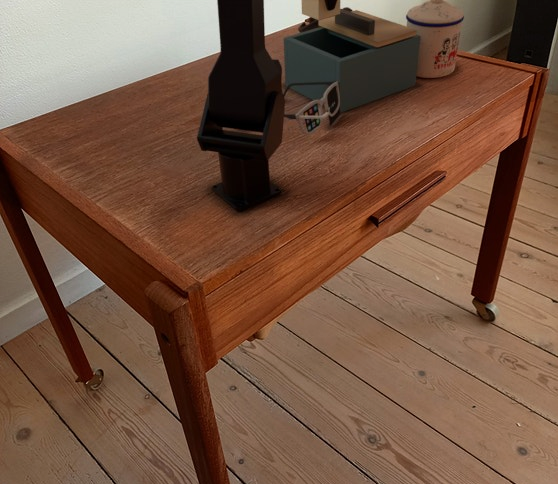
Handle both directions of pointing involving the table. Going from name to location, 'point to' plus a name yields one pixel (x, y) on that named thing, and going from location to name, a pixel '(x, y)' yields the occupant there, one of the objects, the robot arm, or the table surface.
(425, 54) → the teacup with lid
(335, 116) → the smart glasses
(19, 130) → the table surface
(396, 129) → the table surface
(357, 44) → the box
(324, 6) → the block
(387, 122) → the table surface
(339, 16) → the sliding lid
